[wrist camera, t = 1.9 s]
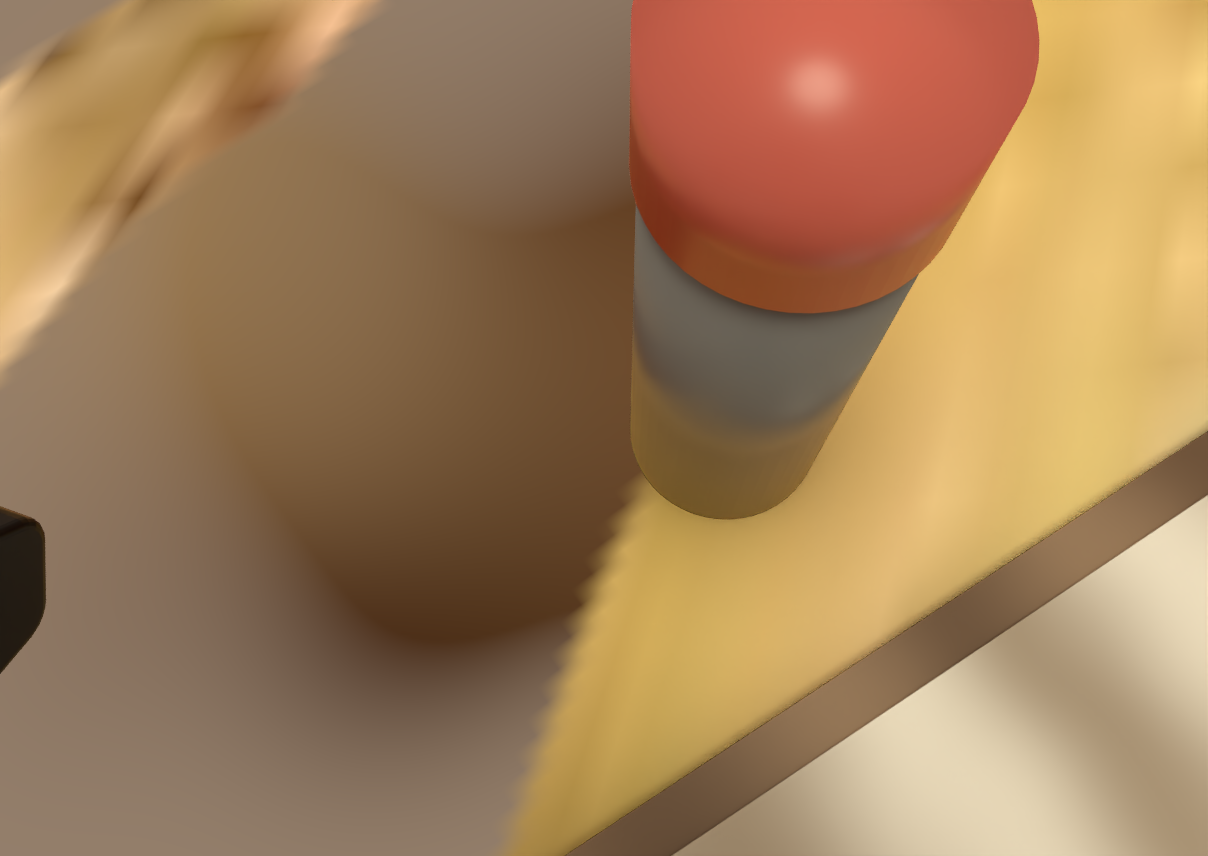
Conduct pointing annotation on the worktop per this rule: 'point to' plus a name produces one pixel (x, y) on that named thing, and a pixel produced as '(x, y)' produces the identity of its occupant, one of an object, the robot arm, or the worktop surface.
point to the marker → (793, 213)
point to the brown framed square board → (993, 714)
